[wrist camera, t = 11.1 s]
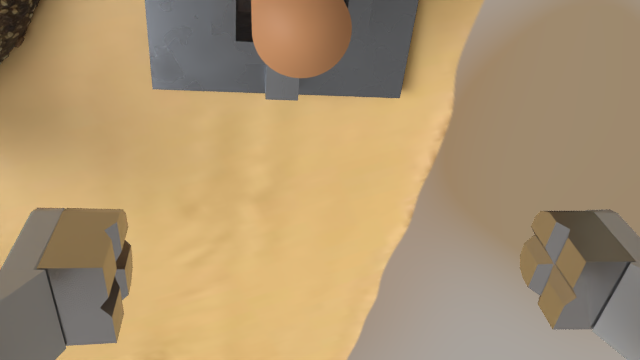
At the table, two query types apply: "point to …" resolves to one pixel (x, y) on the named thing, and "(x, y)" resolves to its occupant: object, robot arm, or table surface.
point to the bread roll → (14, 23)
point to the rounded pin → (300, 34)
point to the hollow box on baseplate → (251, 71)
